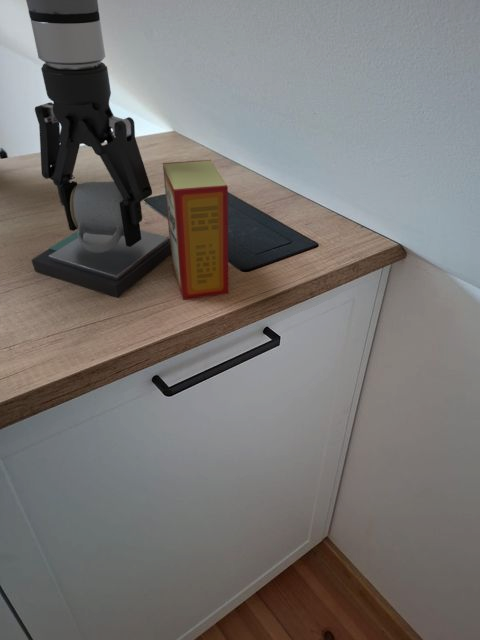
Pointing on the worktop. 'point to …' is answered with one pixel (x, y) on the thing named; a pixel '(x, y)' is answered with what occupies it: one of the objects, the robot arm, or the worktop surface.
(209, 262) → the baking soda box
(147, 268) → the scale
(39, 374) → the worktop surface
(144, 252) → the scale pan
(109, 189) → the ceramic mug
